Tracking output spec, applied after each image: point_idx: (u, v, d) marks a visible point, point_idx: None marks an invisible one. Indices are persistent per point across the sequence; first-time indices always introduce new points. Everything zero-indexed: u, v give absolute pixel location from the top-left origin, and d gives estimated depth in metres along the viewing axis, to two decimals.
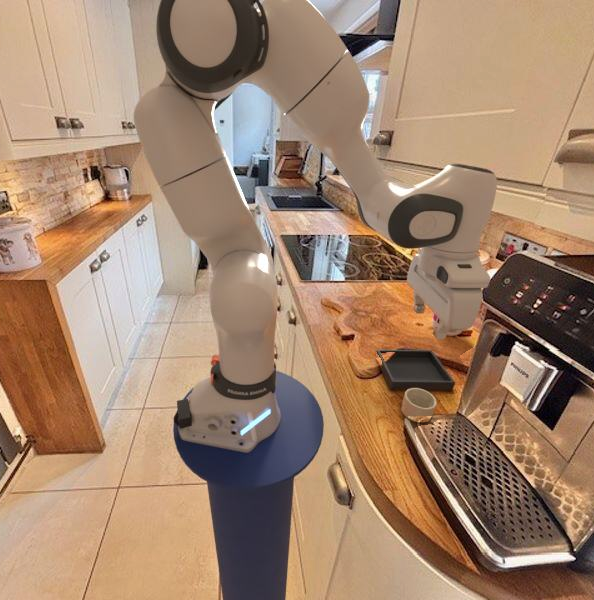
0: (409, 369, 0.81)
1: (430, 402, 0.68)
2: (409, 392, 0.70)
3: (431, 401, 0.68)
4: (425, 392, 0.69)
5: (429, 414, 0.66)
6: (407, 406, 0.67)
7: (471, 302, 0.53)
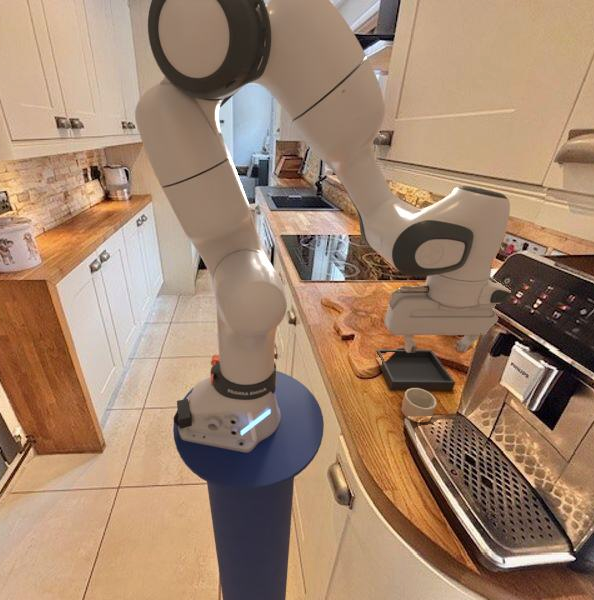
0: (409, 369, 0.81)
1: (430, 402, 0.68)
2: (409, 392, 0.70)
3: (431, 401, 0.68)
4: (425, 392, 0.69)
5: (429, 414, 0.66)
6: (407, 406, 0.67)
7: None
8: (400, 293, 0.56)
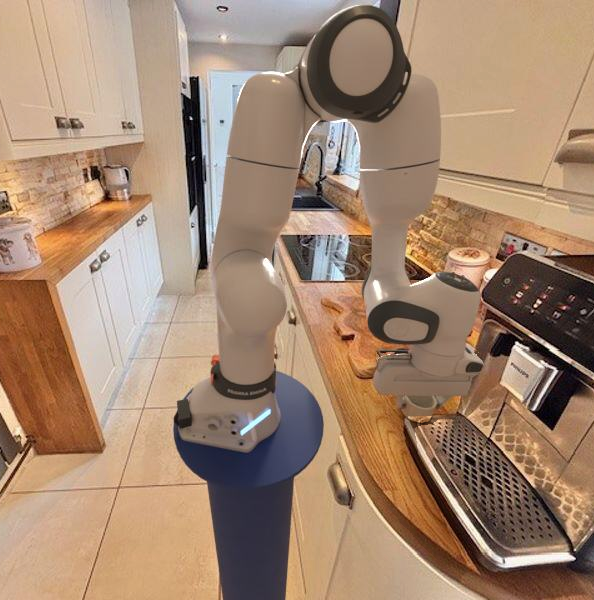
0: None
1: (430, 402, 0.68)
2: None
3: (431, 401, 0.68)
4: None
5: (429, 414, 0.66)
6: (407, 406, 0.67)
7: None
8: (386, 360, 0.63)
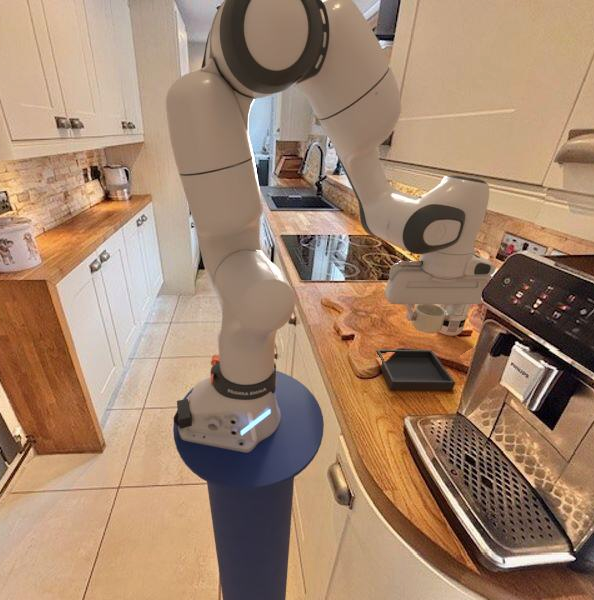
0: (409, 369, 0.81)
1: (439, 315, 0.72)
2: (419, 307, 0.73)
3: (440, 313, 0.71)
4: (434, 306, 0.72)
5: (439, 323, 0.69)
6: (418, 317, 0.71)
7: None
8: (398, 267, 0.66)
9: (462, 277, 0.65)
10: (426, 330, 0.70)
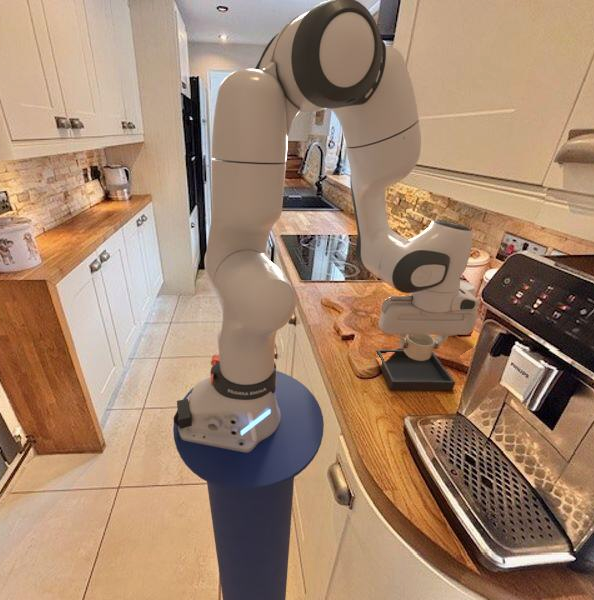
0: (409, 369, 0.81)
1: (429, 343, 0.77)
2: (410, 335, 0.78)
3: (430, 342, 0.77)
4: (424, 335, 0.78)
5: (428, 351, 0.74)
6: (409, 345, 0.76)
7: None
8: (390, 301, 0.71)
9: (449, 311, 0.70)
10: (417, 358, 0.75)
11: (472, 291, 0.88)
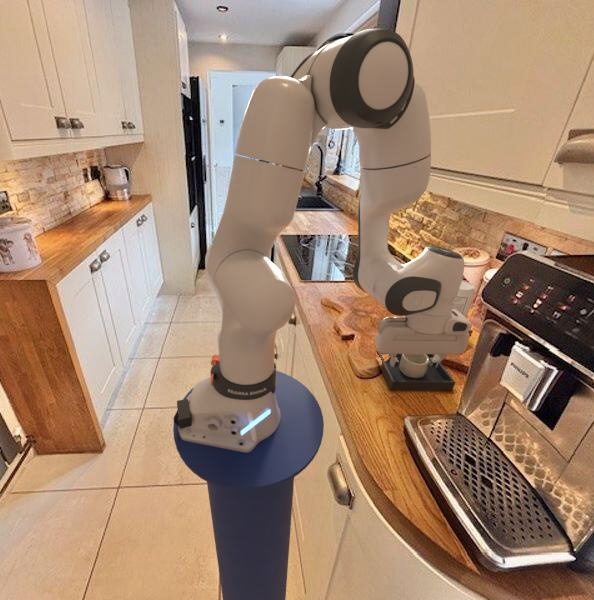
0: None
1: (424, 361, 0.80)
2: None
3: (425, 359, 0.79)
4: None
5: (423, 369, 0.77)
6: (404, 363, 0.78)
7: None
8: (385, 322, 0.74)
9: (442, 332, 0.72)
10: (411, 375, 0.78)
11: (472, 291, 0.88)
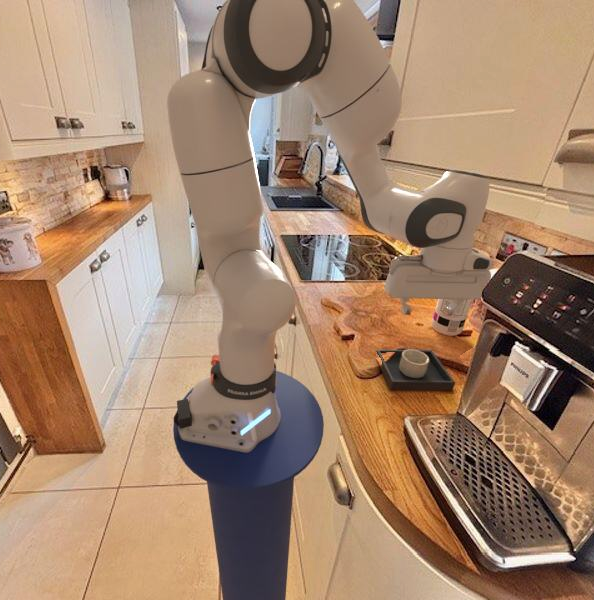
0: None
1: (424, 361, 0.80)
2: (406, 353, 0.81)
3: (425, 359, 0.79)
4: (419, 352, 0.80)
5: (423, 369, 0.77)
6: (404, 363, 0.78)
7: None
8: (398, 261, 0.67)
9: (461, 272, 0.65)
10: (411, 375, 0.78)
11: None
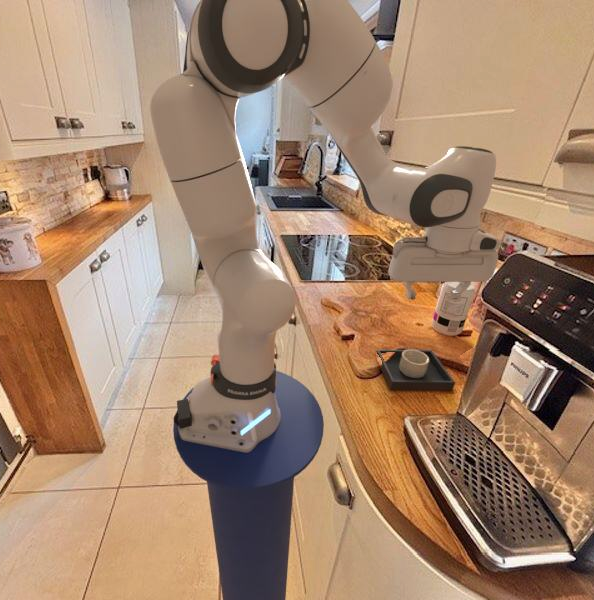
0: None
1: (424, 361, 0.80)
2: (406, 353, 0.81)
3: (425, 359, 0.79)
4: (419, 352, 0.80)
5: (423, 369, 0.77)
6: (404, 363, 0.78)
7: None
8: (402, 243, 0.65)
9: (467, 253, 0.63)
10: (411, 375, 0.78)
11: (472, 291, 0.88)
